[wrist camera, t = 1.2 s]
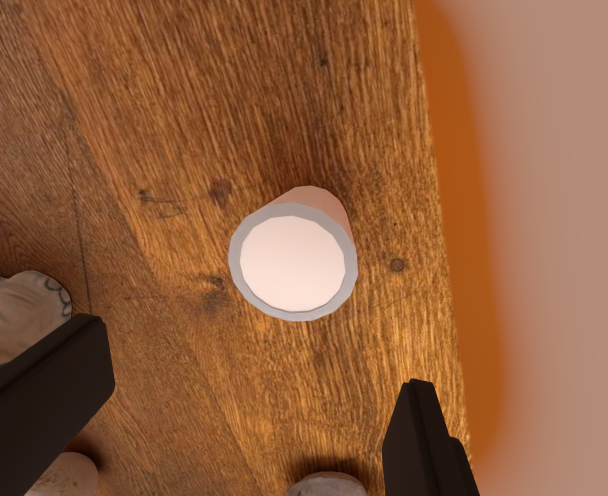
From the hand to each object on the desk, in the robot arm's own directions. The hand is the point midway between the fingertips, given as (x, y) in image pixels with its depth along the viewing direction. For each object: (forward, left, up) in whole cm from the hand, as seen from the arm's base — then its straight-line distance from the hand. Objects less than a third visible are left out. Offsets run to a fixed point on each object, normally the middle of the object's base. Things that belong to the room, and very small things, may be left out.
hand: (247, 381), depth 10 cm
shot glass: (0, 0, -14) cm, 14 cm away
